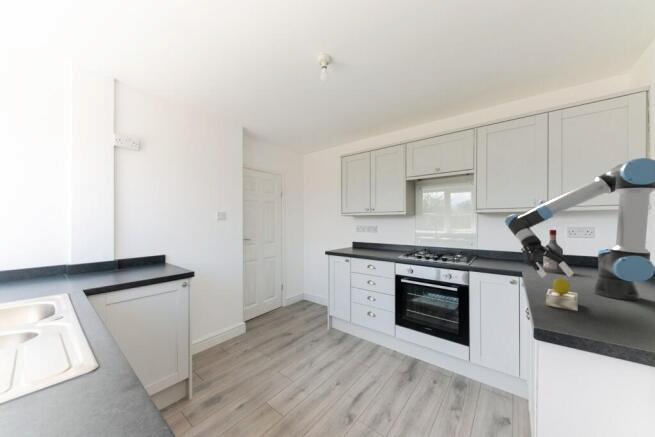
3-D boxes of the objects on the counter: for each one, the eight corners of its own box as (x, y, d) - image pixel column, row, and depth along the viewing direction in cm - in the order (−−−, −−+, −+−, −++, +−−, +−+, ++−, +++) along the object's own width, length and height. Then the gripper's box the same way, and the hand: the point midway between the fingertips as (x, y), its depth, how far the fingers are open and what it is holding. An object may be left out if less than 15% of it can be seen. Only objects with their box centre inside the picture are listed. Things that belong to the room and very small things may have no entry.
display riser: (577, 303, 115) (577, 293, 115) (577, 310, 106) (577, 299, 106) (548, 298, 122) (548, 288, 122) (546, 305, 113) (546, 294, 113)
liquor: (554, 273, 177) (554, 230, 177) (541, 270, 186) (541, 229, 186) (565, 272, 179) (565, 230, 179) (551, 270, 188) (551, 229, 188)
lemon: (552, 292, 118) (552, 275, 118) (569, 295, 115) (569, 277, 115) (553, 295, 114) (553, 277, 114) (570, 298, 110) (570, 279, 110)
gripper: (545, 243, 134) (576, 279, 119) (501, 244, 132) (527, 280, 117) (555, 234, 129) (588, 270, 114) (510, 235, 126) (538, 271, 111)
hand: (558, 275), depth 115 cm, fingers open, 13 cm apart
